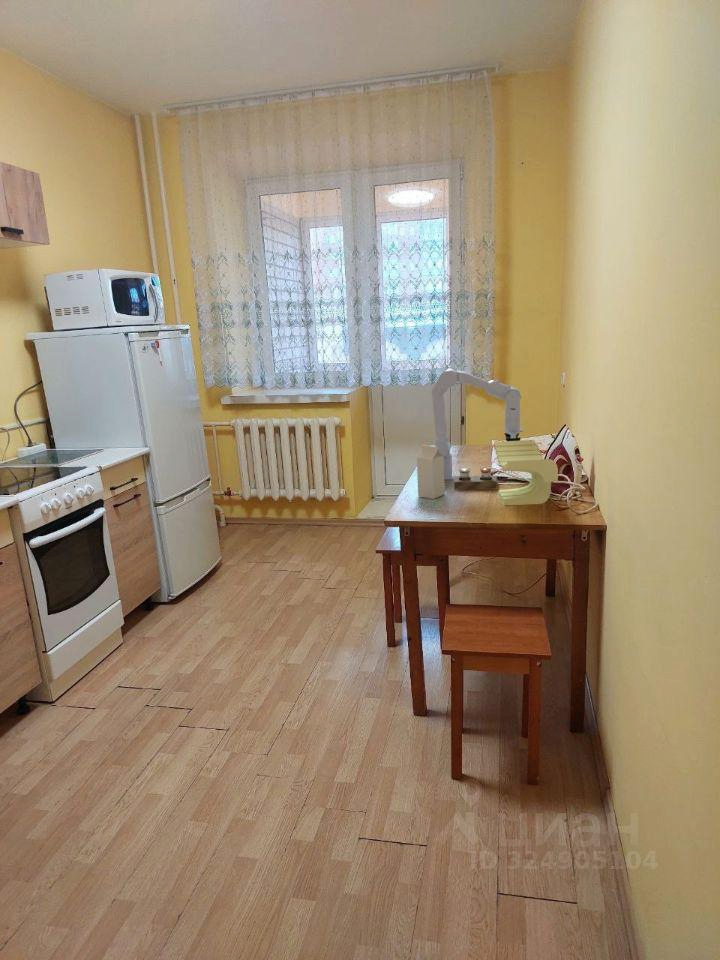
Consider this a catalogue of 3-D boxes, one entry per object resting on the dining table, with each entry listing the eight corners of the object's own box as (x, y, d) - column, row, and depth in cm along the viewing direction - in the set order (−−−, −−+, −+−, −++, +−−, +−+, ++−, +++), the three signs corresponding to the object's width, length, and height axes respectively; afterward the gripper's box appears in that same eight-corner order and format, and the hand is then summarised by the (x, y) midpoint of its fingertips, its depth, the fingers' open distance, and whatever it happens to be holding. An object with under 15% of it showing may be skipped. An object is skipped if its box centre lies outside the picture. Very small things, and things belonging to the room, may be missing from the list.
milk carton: (433, 499, 215) (432, 448, 210) (418, 496, 220) (416, 446, 215) (444, 494, 220) (443, 444, 215) (429, 491, 225) (427, 443, 220)
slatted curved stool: (556, 511, 194) (558, 458, 190) (507, 513, 196) (507, 461, 191) (537, 485, 223) (538, 439, 218) (495, 487, 225) (494, 441, 220)
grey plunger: (459, 481, 227) (459, 470, 225) (459, 478, 230) (459, 468, 229) (469, 481, 226) (469, 470, 225) (470, 478, 230) (469, 467, 228)
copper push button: (480, 481, 225) (480, 470, 224) (480, 478, 229) (480, 467, 228) (491, 481, 224) (491, 470, 223) (491, 478, 228) (491, 467, 227)
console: (454, 489, 226) (453, 481, 225) (454, 483, 233) (454, 476, 233) (496, 488, 223) (496, 481, 222) (496, 483, 230) (496, 475, 229)
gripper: (524, 421, 223) (523, 456, 227) (521, 415, 237) (521, 448, 240) (505, 422, 225) (505, 456, 228) (503, 415, 238) (503, 448, 242)
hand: (512, 452), depth 234 cm, fingers open, 7 cm apart
